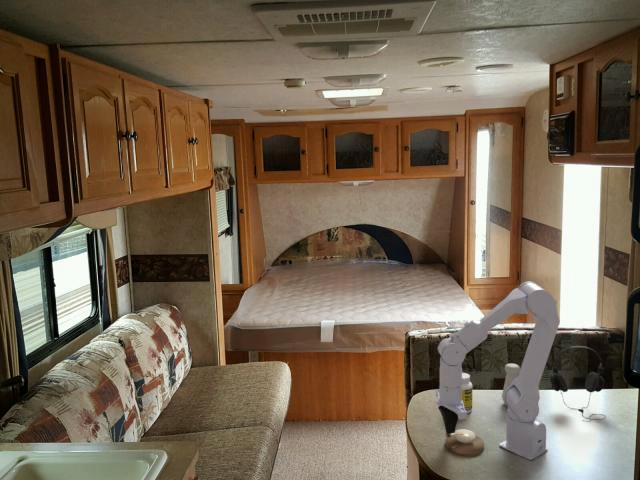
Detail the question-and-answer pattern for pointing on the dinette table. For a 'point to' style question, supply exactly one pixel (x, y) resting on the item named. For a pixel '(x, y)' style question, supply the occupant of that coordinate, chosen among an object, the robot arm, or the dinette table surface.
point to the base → (465, 446)
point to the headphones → (591, 383)
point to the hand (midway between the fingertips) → (450, 432)
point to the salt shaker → (510, 378)
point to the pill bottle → (467, 392)
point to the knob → (463, 435)
